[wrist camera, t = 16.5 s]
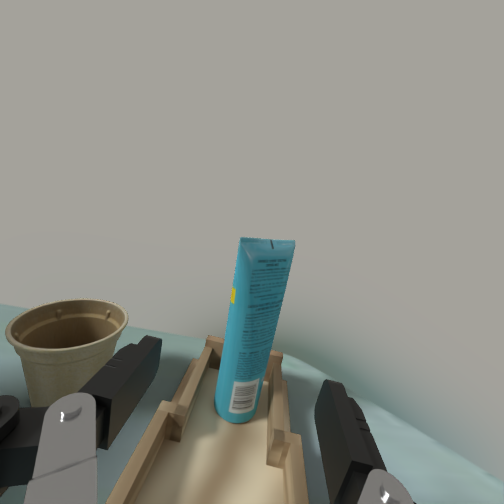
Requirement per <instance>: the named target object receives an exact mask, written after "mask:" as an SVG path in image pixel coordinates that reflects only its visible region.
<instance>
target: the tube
mask: <svg viewBox="0 0 504 504" xmlns="http://www.w3.org/2000/svg"><path fill="white" fill-rule="evenodd" d="M294 249H295V240H270V239H260V238H247V237H241V238H240V241H239V248H238V255H237V261H236V268H235V275H234V281H233V288H232V294H231V301H230V308H229V314H228V321H227V327H226V334H225V339H224V345H223V352H222V358H221V363H220V369H219V374H218V380H217V386H216V391H215V397H214V407H215V410H216V412H217V414H218V415H219V416H220V417H221V418H223V419H224V420H225V421H227V422H230V423H244V422H247V421H249V420H250V419H251V418H252V417H253V416H254V415H255V413H256V410H257V406H258V402H259V398H260V393H261V389H262V385H263V381H264V377H265V373H266V368H267V364H268V360H269V356H270V352H271V347H272V343H273V339H274V335H275V331H276V326H277V322H278V318H279V314H280V310H281V306H282V301H283V297H284V293H285V289H286V285H287V280H288V276H289V272H290V267H291V263H292V258H293V253H294Z"/></svg>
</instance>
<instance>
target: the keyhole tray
mask: <svg viewBox="0 0 504 504" xmlns="http://www.w3.org/2000/svg"><path fill="white" fill-rule="evenodd" d="M223 345H224V339H223V338H219V337H214V336H210V335H208V337H207V339H206V344H205V347H204V350H203V352H202V354H201V356H200V358H199V360H198V359H194V358H193V359H192V361H191V363H190V365H189V367H188V369H187V371H186V373H185V375H184V377H183V379H182V381H181V383H180V385H179V387H178V389H177V391H176V393H175V395H174V397H173V399H172V401H171V402H168V401H164V400H162V402H161V404H160V405H159V407H158V409H157V411H156V413H155V414H154V416H153V418H152V420H151V422H150V423H149V425H148V427H147V429H146V431H145V433H144V434H143V436H142V438H141V440H140V442H139V443H138V445H137V447H136V449H135V451H134V452H133V454H132V456H131V458H130V460H129V461H128V463H127V465H126V467H125V469H124V470H123V472H122V474H121V476H120V478H119V479H118V481H117V483H116V485H115V487H114V488H113V490H112V492H111V494H110V496H109V497H108V499H107V501H106V503H105V504H309V500H308V491H307V483H306V475H305V466H304V458H303V450H302V441H301V435H299V434H295V433H291V431H290V418H289V405H288V392H287V381H285V380H282V372H281V363H282V359H283V353H282V352H277V351H273V350H271V352H270V356H269V360H268V364H267V368H266V373H265V377H264V381H263V385H262V389H261V393H260V398H259V402H258V406H257V410H256V413H255V415H254V416H253V417H252V418H251V419H250V420H249V421H247V422H244V423H230V422H227V421H225V420H224V419H223V418H221V417H220V416H219V415H218V414H217V412H216V410H215V407H214V397H215V391H216V386H217V380H218V374H219V369H220V363H221V358H222V352H223Z"/></svg>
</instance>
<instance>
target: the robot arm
mask: <svg viewBox="0 0 504 504" xmlns="http://www.w3.org/2000/svg"><path fill="white" fill-rule="evenodd" d="M161 346H162V339H160V338H156V337H152V336H148V335H146V336H145V337H144V338H143V339H142V340H141V341H140V342H139V343H138V344H137V345H136V344H132V343H131V344H129V345H127V346H125V347H123V348H121V349H120V350H119V351H118V352H117V353H116V354H115V355H114V356H113V357H112V359H110V360H109V361H108V362H107V363H106V364H105V366H103V367H102V368H101V369H100V370H99V371H98V372H97V373H96V374H95V375H94V376H93V377H92V378H91V379H90V380H89V381H88V382H87V383H86V384H85V385H84V386H83V387H82V388H81V389H80V390H79V391H78V392H77V393H73V394H69V395H67V396H64V397H62V398H60V399H59V400H57V401H56V402H54V403H53V404H52V405H51V406H46V407H31V408H19V401H18V399H17V398H15V397H13V396H8V395H2V396H0V497H1V496H2V495H3V493H4V492H5V491H6V490H7V489H8V487H10V486H18V485H25V484H28V486H27V490H26V495H25V500H24V504H97V455H96V450H97V448H101V449H105V450H108V448H109V447H110V445H111V444H112V442H113V441H114V439H115V438H116V436H117V435H118V433H119V432H120V430H121V428H122V427H123V425H124V424H125V422H126V421H127V419H128V418H129V416H130V415H131V413H132V412H133V410H134V408H135V407H136V405H137V404H138V402H139V401H140V399H141V398H142V396H143V395H144V393H145V392H146V390H147V389H148V387H149V385H150V384H151V382H152V381H153V379H154V377H155V375H156V373H157V370H158V367H159V360H160V353H161ZM314 417H315V424H316V429H317V435H318V440H319V445H320V451H321V456H322V461H323V467H324V472H325V477H326V483H327V488H328V493H329V499H330V504H416V503H415V502H413V500H412V498H411V496H410V494H409V493H408V491H407V490H406V488H405V487H404V486H403V485H402V483H401V482H400V481H399V480H398V479H396V478H395V477H394V476H393V475H391V474H390V473H388V472H387V470H386V467H385V465H384V462H383V460H382V457H381V455H380V453H379V450H378V448H377V445H376V443H375V441H374V438H373V436H372V433H370V429H369V426H368V424H367V423H366V419H365V417H364V414H363V412H362V409H361V408H360V407H359V405H358V404H357V403H356V402H355V400H354V399H353V398H350V397H348V396H347V394H346V391H345V388H344V386H343V384H342V383H339V382H335V381H331V380H327V379H326V380H325V381H324V382H323V385H322V388H321V391H320V394H319V396H318V399H317V402H316V405H315V412H314Z"/></svg>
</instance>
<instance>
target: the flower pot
mask: <svg viewBox="0 0 504 504" xmlns="http://www.w3.org/2000/svg"><path fill="white" fill-rule="evenodd" d="M127 323H128V313H127V312H126V310H125V309H124V308H123V307H121V306H120V305H118V304H115V303H114V302H109V301H105V300H99V299H84V298H83V299H68V300H61V301H55V302H51V303H46V304H43V305H39V306H37V307H34V308H31V309H29V310H27V311H25V312H23V313H21V314H20V315H19V316H17V317H15V318H14V319H13V320H11V321H10V323H9V324H8V325H7V327H6V330H5V335H6V339H7V340H8V342H9V343H10V344H11V345H13V346H14V349H15V351H16V353H17V354H18V355H19V356H20V358H21V362H22V367H23V371H24V376H25V380H26V384H27V389H28V393H29V398H30V403H31V407H46V406H51V405H52V404H53V403H54V402H56V401H57V400H59V399H60V398H62V397H64V396H67V395H69V394H73V393H77V392H78V391H79V390H80V389H81V388H82V387H83V386H84V385H85V384H86V383H87V382H88V381H89V380H90V379H91V378H92V377H93V376H94V375H95V374H96V373H97V372H98V371H99V370H100V369H101V368H102V367H103V366H105V364H106V363H107V362H108V361H109V360H110V359H112V357H113V353H114V350H115V346H116V342H117V340H118V339H119V337H120V335H121V333H122V330H123V329H124V328H125V327H126V325H127Z"/></svg>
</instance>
